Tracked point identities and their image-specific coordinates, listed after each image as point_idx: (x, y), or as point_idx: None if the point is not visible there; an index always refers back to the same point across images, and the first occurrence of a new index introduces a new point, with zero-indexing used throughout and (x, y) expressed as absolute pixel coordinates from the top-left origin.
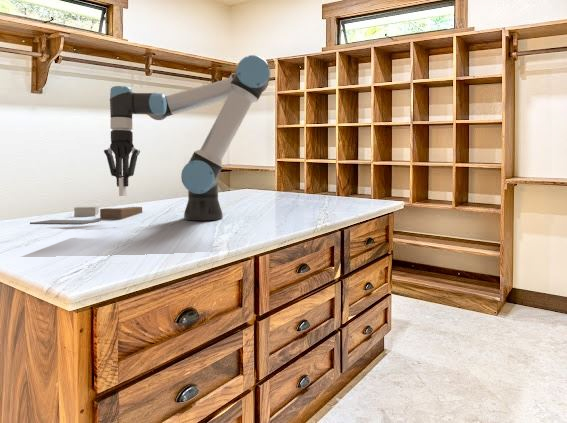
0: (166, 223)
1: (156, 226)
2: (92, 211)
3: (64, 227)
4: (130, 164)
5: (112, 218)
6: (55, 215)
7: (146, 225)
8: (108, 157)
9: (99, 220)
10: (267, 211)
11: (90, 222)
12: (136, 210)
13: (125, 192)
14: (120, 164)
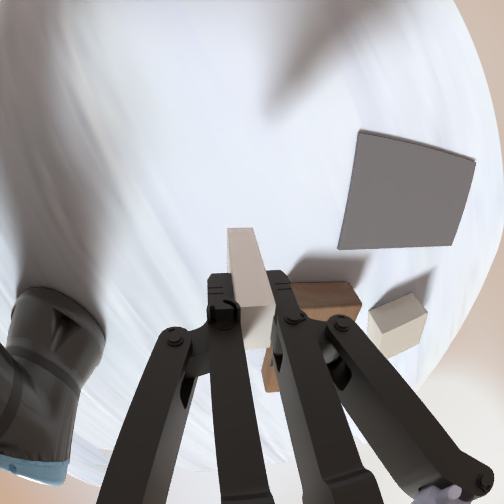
0: (71, 208)
1: (50, 94)
2: (384, 322)
3: (363, 24)
4: (151, 429)
5: (312, 285)
6: (439, 349)
7: (95, 117)
8: (440, 447)
9: (340, 243)
10: (102, 445)
11: (350, 185)
12: (269, 367)
13: (228, 270)
14: (297, 434)
